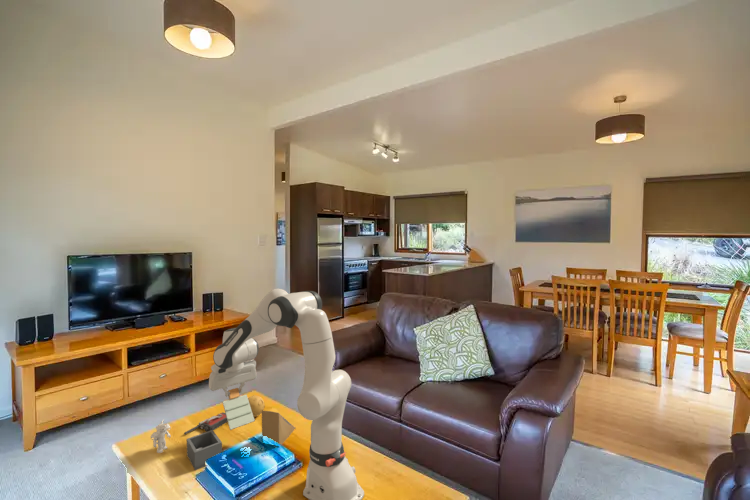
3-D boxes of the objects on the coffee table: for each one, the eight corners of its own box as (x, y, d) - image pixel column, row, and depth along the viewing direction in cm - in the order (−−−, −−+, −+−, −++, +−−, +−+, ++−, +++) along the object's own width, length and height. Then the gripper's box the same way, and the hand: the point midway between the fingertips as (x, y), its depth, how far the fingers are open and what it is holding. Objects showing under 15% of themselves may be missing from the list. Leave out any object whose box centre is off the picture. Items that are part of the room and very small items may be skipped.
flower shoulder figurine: (166, 443, 151) (165, 416, 150) (173, 444, 150) (173, 417, 150) (148, 456, 142) (147, 427, 141) (157, 457, 141) (156, 428, 141)
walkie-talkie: (220, 415, 174) (182, 436, 157) (220, 407, 174) (182, 426, 157) (232, 420, 170) (195, 441, 153) (232, 411, 170) (195, 431, 152)
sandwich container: (296, 428, 163) (296, 396, 162) (279, 447, 148) (279, 413, 148) (280, 425, 165) (279, 394, 165) (261, 444, 151) (261, 410, 150)
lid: (253, 422, 154) (255, 419, 152) (229, 431, 147) (230, 428, 145) (243, 388, 162) (244, 385, 161) (219, 395, 155) (221, 392, 154)
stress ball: (249, 413, 178) (235, 407, 171) (261, 395, 181) (248, 389, 175) (259, 423, 171) (245, 417, 165) (272, 405, 175) (258, 398, 168)
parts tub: (222, 459, 140) (221, 442, 140) (195, 470, 134) (194, 452, 133) (212, 445, 149) (212, 429, 149) (187, 455, 142) (186, 438, 142)
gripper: (253, 356, 165) (253, 385, 166) (207, 367, 152) (207, 398, 152) (258, 360, 160) (259, 389, 161) (211, 371, 147) (212, 403, 148)
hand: (233, 394), depth 157 cm, fingers closed on lid, 4 cm apart
